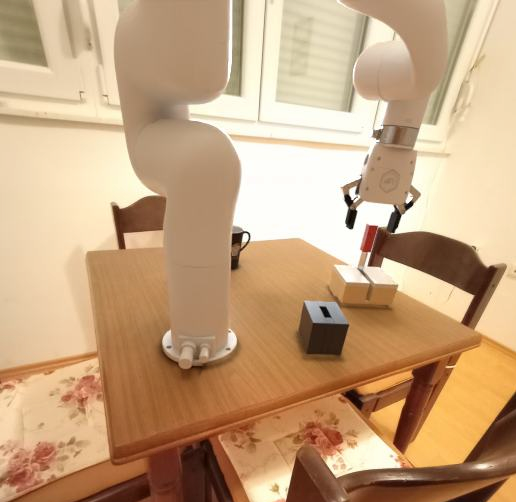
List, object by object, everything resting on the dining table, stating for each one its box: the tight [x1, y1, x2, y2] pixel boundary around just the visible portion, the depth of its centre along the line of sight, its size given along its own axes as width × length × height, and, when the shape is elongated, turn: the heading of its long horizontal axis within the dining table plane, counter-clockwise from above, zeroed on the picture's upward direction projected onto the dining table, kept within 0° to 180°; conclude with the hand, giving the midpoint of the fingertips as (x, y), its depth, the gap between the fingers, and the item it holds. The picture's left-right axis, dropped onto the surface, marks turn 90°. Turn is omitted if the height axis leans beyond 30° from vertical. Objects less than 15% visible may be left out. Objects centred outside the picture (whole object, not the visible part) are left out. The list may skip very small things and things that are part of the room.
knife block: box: [298, 300, 350, 356], centre depth 55 cm, size 8×6×7 cm
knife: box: [356, 222, 379, 274], centre depth 74 cm, size 3×2×15 cm, turn 3°
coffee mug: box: [231, 224, 252, 271], centre depth 85 cm, size 12×9×10 cm
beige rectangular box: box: [328, 264, 399, 309], centre depth 75 cm, size 11×12×6 cm
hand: (369, 230), depth 70 cm, fingers open, 9 cm apart
